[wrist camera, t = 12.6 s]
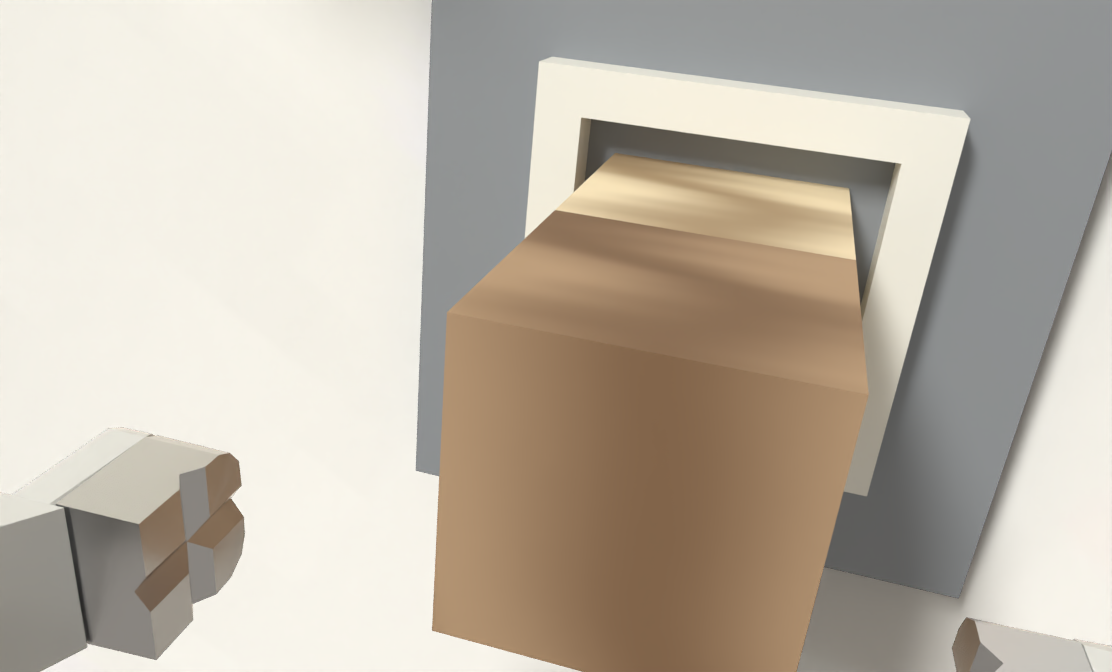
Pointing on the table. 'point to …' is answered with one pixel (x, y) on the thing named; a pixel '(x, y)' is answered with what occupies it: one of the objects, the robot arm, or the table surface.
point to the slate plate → (818, 157)
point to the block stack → (653, 424)
